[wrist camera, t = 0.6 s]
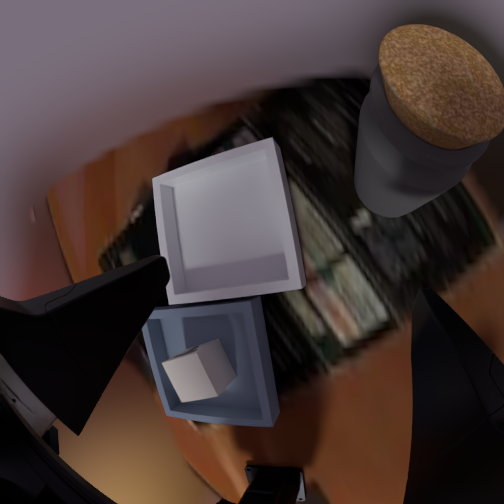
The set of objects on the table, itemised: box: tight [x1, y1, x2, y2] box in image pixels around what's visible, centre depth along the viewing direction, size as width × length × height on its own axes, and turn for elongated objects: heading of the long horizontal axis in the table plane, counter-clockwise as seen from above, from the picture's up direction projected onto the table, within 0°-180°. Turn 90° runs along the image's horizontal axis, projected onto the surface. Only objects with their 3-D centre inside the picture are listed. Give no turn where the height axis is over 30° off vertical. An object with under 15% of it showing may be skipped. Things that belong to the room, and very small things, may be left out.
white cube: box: [162, 338, 237, 402], centre depth 22 cm, size 4×4×4 cm
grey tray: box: [153, 137, 306, 305], centre depth 22 cm, size 12×12×2 cm
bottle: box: [354, 24, 504, 218], centre depth 12 cm, size 6×6×15 cm
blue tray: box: [142, 296, 280, 427], centre depth 23 cm, size 12×12×2 cm
